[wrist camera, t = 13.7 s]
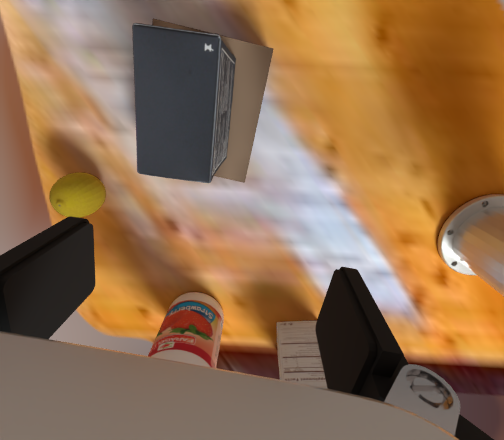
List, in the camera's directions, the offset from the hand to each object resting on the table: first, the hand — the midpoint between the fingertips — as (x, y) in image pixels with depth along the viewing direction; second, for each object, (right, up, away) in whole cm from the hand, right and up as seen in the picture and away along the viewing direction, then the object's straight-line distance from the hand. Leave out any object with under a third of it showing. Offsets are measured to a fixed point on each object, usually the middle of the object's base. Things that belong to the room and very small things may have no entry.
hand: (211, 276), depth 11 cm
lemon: (-20, +7, +29) cm, 36 cm away
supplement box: (+10, -18, +39) cm, 44 cm away
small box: (-4, +14, +20) cm, 25 cm away
